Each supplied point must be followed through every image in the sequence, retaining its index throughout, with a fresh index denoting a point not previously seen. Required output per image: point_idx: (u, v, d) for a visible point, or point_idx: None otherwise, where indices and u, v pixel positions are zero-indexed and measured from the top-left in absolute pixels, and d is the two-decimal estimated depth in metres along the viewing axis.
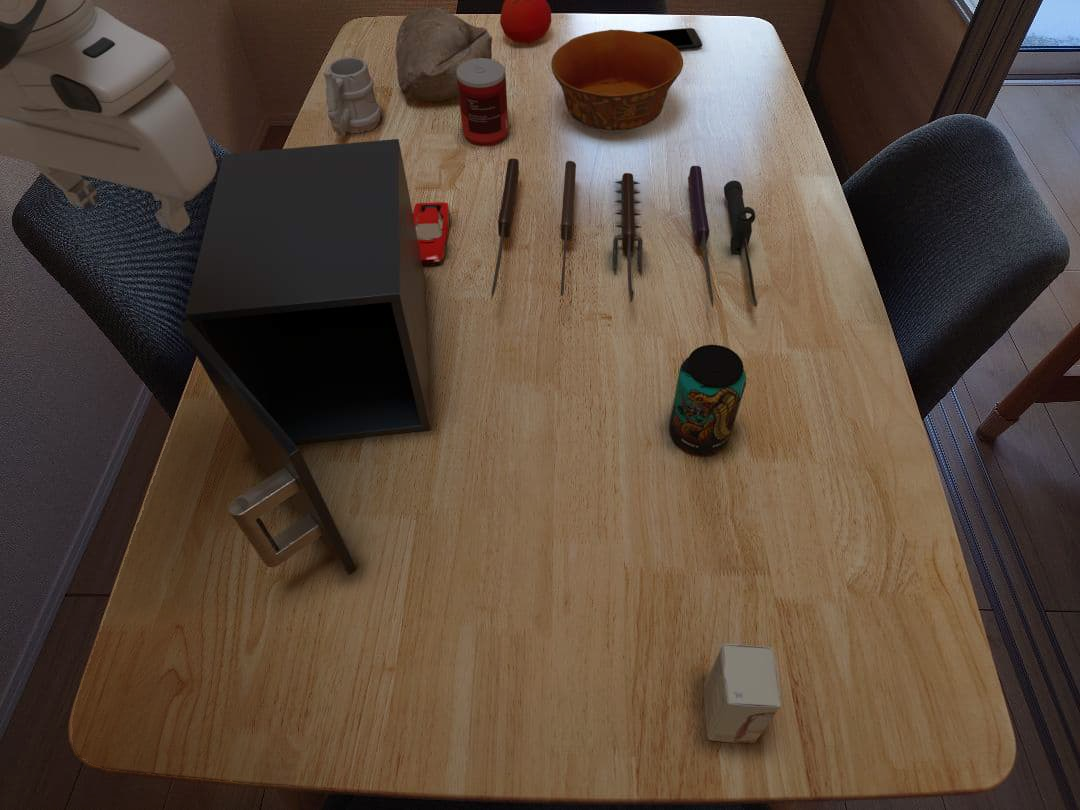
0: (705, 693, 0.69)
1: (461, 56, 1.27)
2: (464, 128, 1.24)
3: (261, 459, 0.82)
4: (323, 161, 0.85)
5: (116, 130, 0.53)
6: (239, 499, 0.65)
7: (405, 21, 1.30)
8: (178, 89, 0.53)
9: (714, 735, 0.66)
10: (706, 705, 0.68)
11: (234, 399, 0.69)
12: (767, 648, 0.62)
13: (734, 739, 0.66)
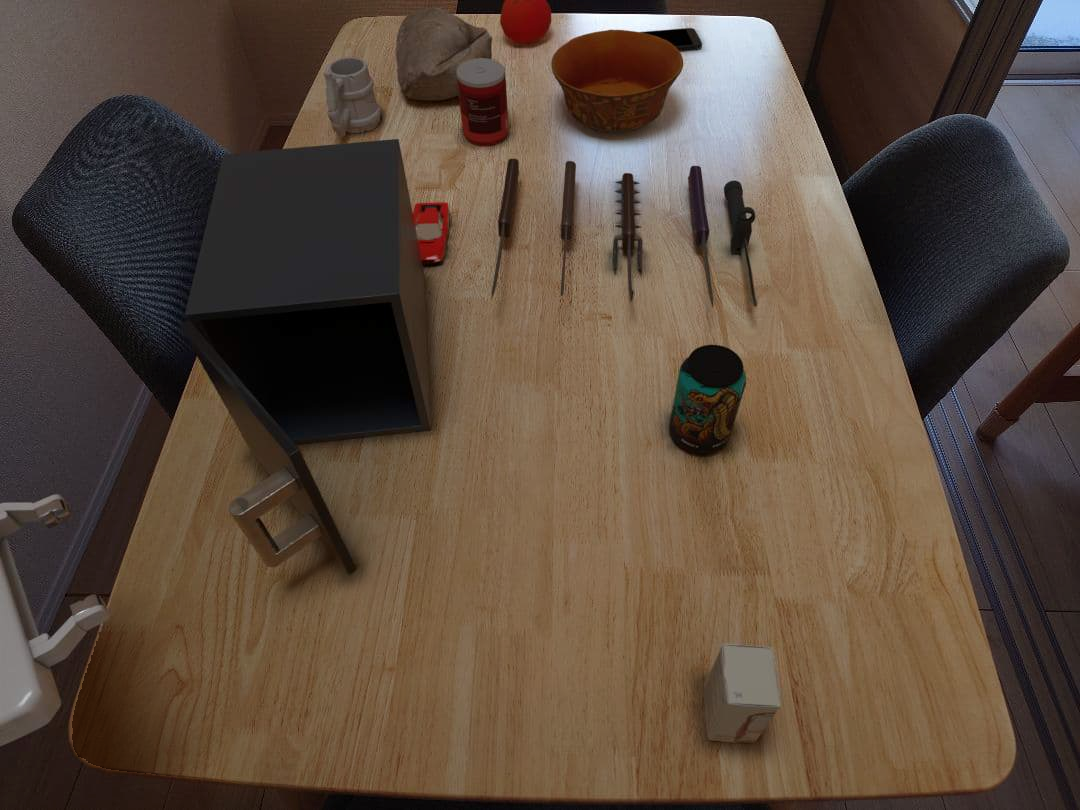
0: (705, 693, 0.69)
1: (461, 56, 1.27)
2: (464, 128, 1.24)
3: (261, 459, 0.82)
4: (323, 161, 0.85)
5: None
6: (239, 499, 0.65)
7: (405, 21, 1.30)
8: None
9: (714, 735, 0.66)
10: (706, 705, 0.68)
11: (234, 399, 0.69)
12: (767, 648, 0.62)
13: (734, 739, 0.66)
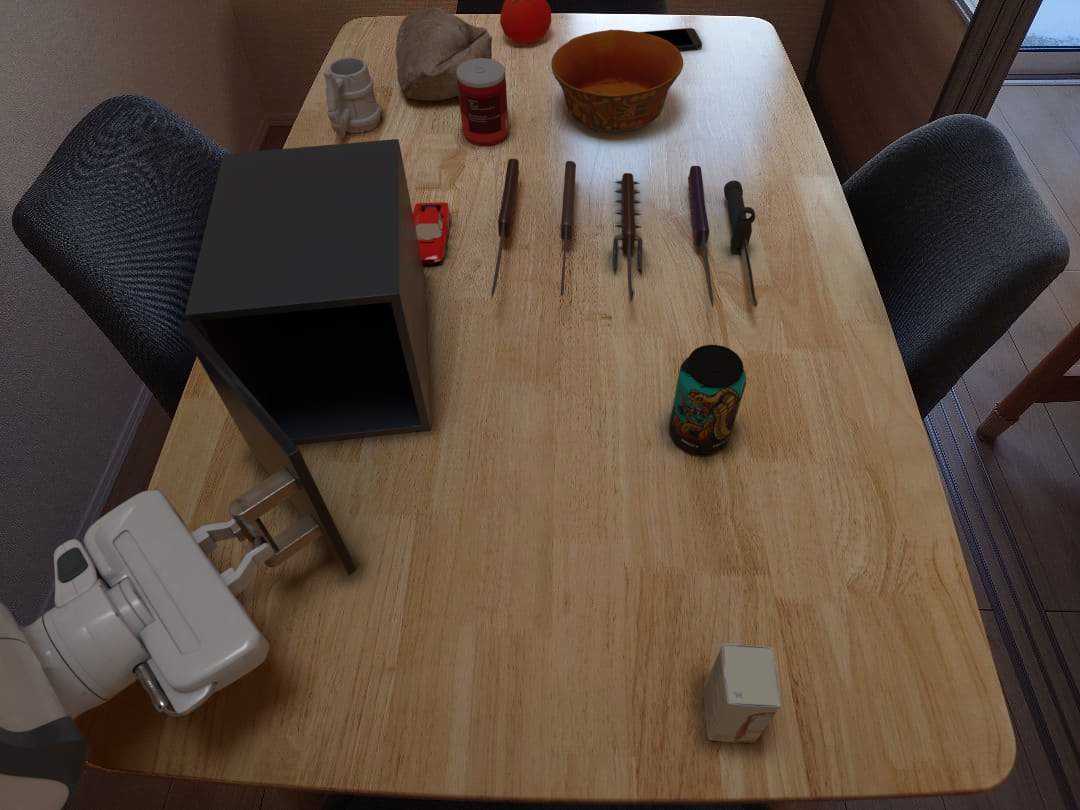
0: (705, 693, 0.69)
1: (461, 56, 1.27)
2: (464, 128, 1.24)
3: (261, 459, 0.82)
4: (323, 161, 0.85)
5: (123, 550, 0.66)
6: (239, 499, 0.65)
7: (405, 21, 1.30)
8: None
9: (714, 735, 0.66)
10: (706, 705, 0.68)
11: (234, 399, 0.69)
12: (767, 648, 0.62)
13: (734, 739, 0.66)
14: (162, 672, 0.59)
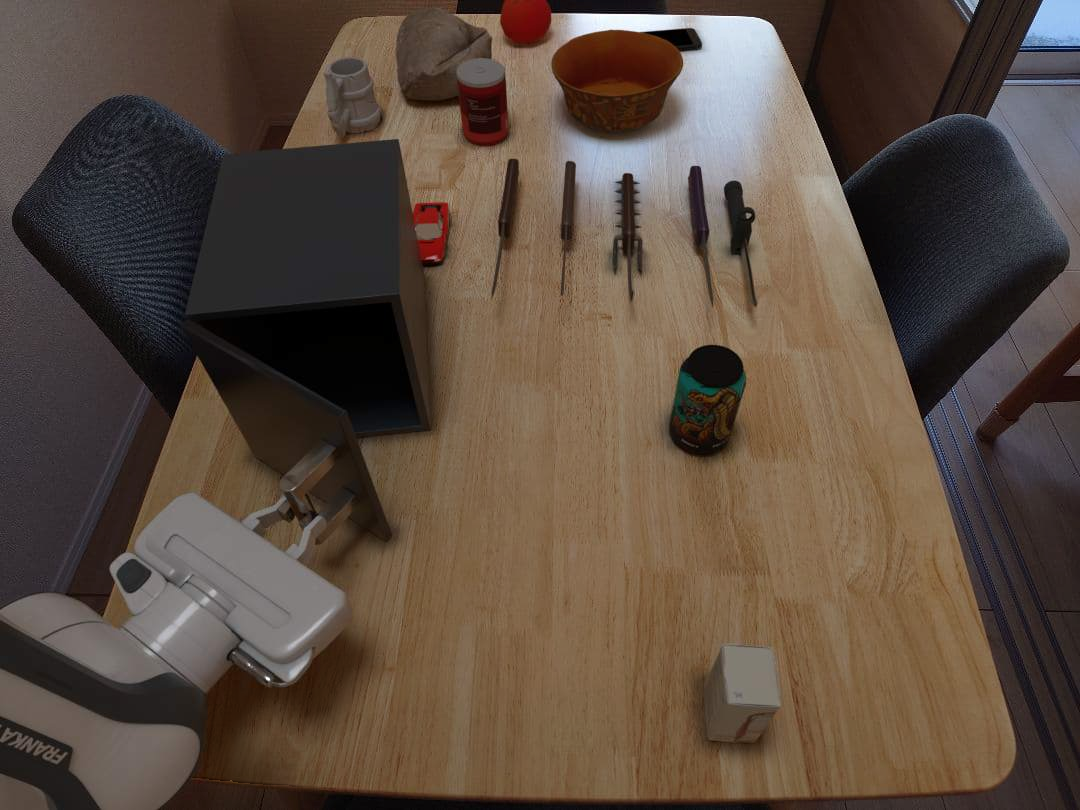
0: (705, 693, 0.69)
1: (461, 56, 1.27)
2: (464, 128, 1.24)
3: (270, 453, 0.82)
4: (323, 161, 0.85)
5: (177, 553, 0.66)
6: (287, 476, 0.66)
7: (405, 21, 1.30)
8: None
9: (714, 735, 0.66)
10: (706, 705, 0.68)
11: (254, 386, 0.70)
12: (767, 648, 0.62)
13: (734, 739, 0.66)
14: (261, 649, 0.60)
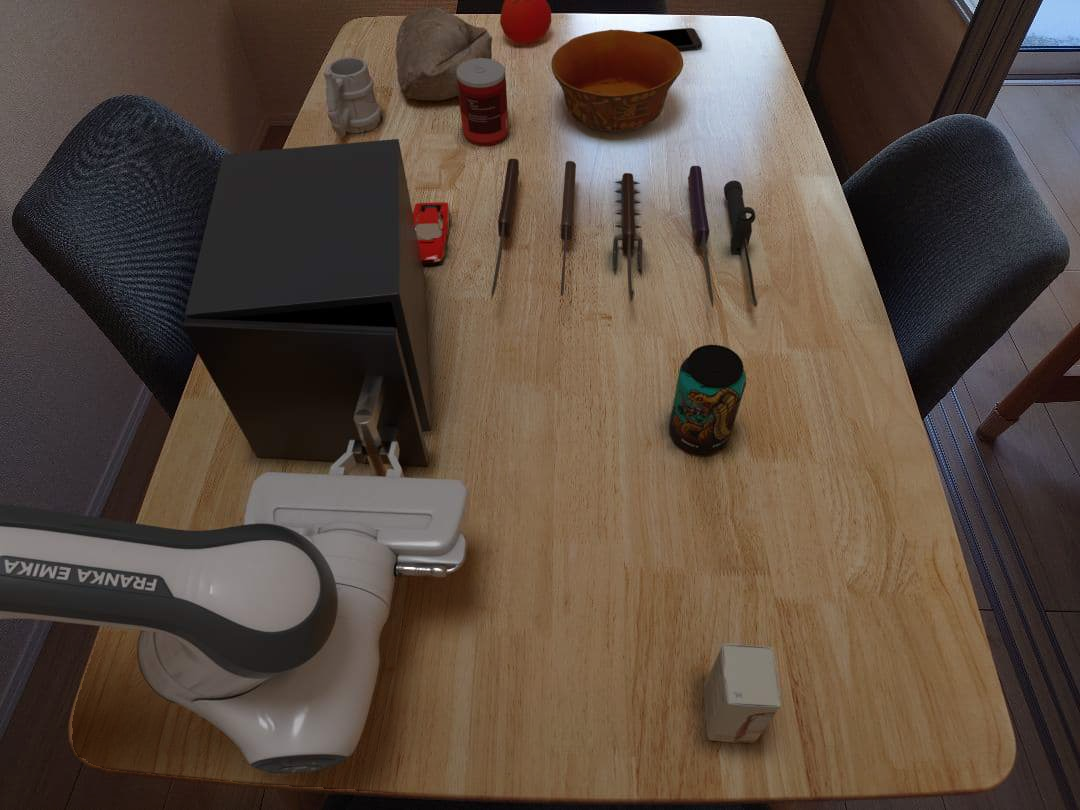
0: (705, 693, 0.69)
1: (461, 56, 1.27)
2: (464, 128, 1.24)
3: (283, 438, 0.83)
4: (323, 161, 0.85)
5: (290, 520, 0.68)
6: (357, 412, 0.71)
7: (405, 21, 1.30)
8: None
9: (714, 735, 0.66)
10: (706, 705, 0.68)
11: (280, 354, 0.72)
12: (767, 648, 0.62)
13: (734, 739, 0.66)
14: (424, 547, 0.66)
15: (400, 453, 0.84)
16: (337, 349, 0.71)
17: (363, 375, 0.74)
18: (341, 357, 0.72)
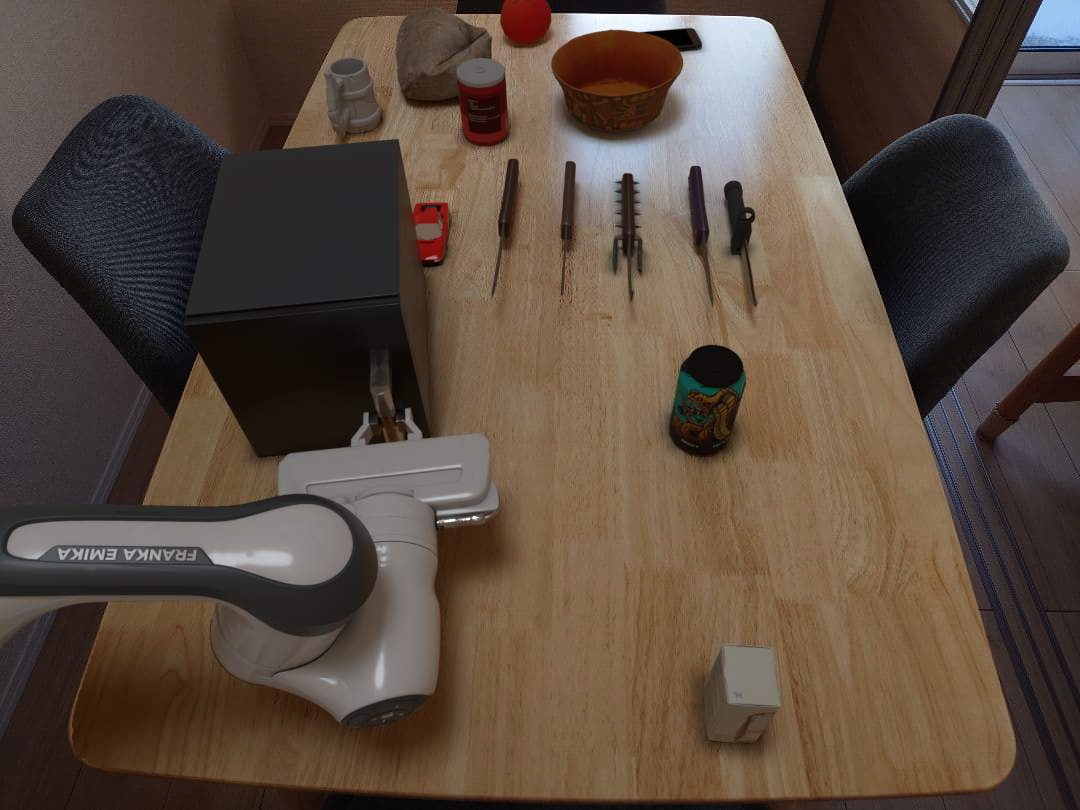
0: (705, 693, 0.69)
1: (461, 56, 1.27)
2: (464, 128, 1.24)
3: (285, 431, 0.84)
4: (323, 161, 0.85)
5: (324, 494, 0.69)
6: (373, 385, 0.73)
7: (405, 21, 1.30)
8: None
9: (714, 735, 0.66)
10: (706, 705, 0.68)
11: (285, 341, 0.73)
12: (767, 648, 0.62)
13: (734, 739, 0.66)
14: (461, 498, 0.69)
15: None
16: (342, 327, 0.73)
17: (368, 351, 0.76)
18: (346, 335, 0.73)
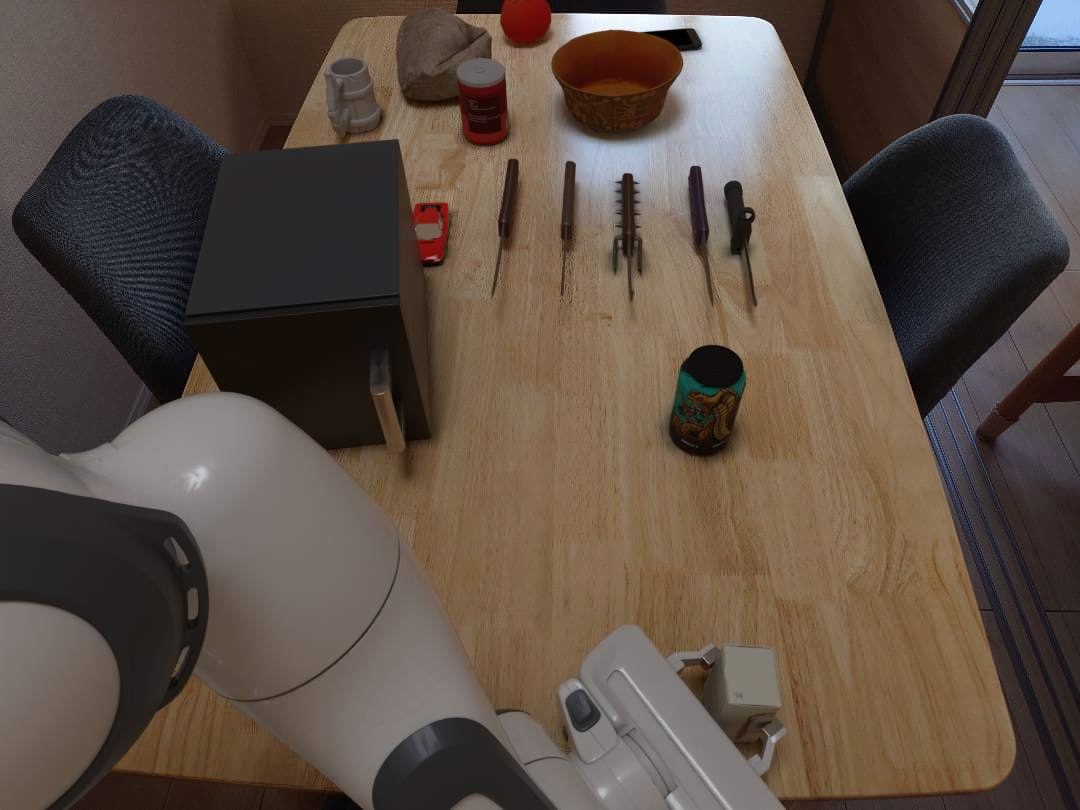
0: (705, 693, 0.69)
1: (461, 56, 1.27)
2: (464, 128, 1.24)
3: None
4: (323, 161, 0.85)
5: (618, 694, 0.63)
6: (373, 385, 0.73)
7: (405, 21, 1.30)
8: None
9: None
10: (706, 705, 0.68)
11: (285, 341, 0.73)
12: (767, 648, 0.62)
13: (735, 739, 0.66)
14: None
15: (404, 428, 0.86)
16: (342, 327, 0.73)
17: (368, 351, 0.76)
18: (346, 335, 0.73)
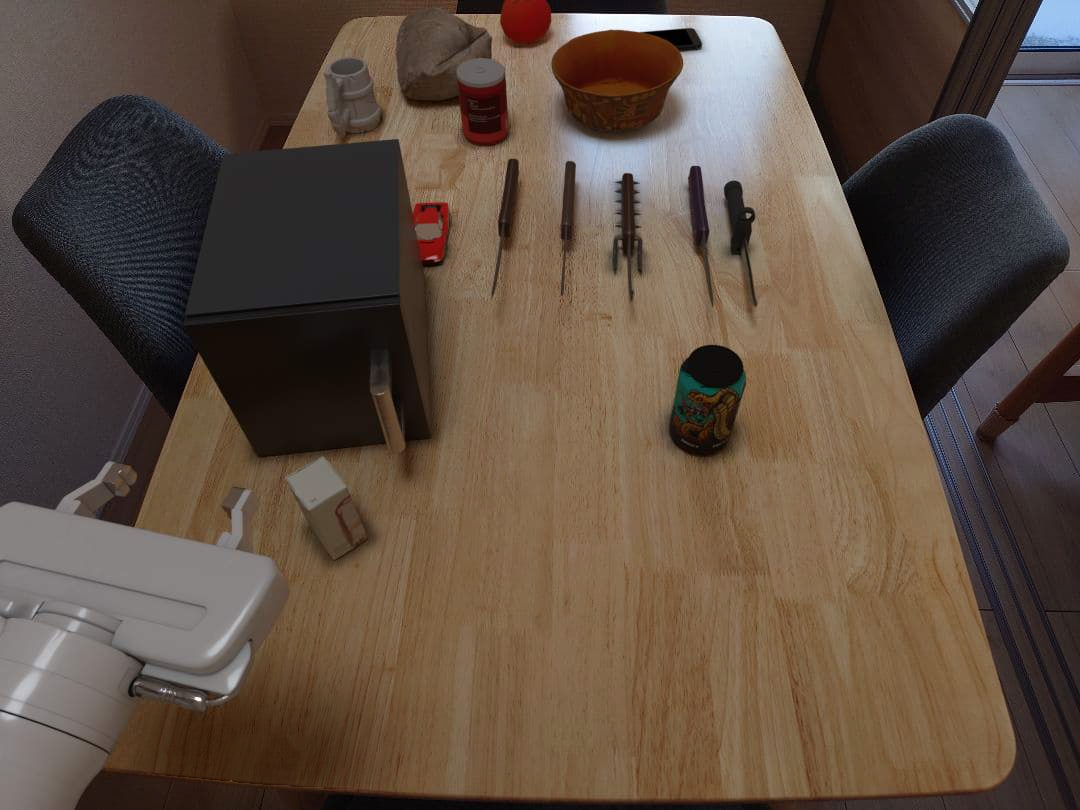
0: (313, 531, 0.80)
1: (461, 56, 1.27)
2: (464, 128, 1.24)
3: (285, 431, 0.84)
4: (323, 161, 0.85)
5: (12, 583, 0.46)
6: (373, 385, 0.73)
7: (405, 21, 1.30)
8: None
9: (333, 551, 0.78)
10: (318, 538, 0.79)
11: (285, 341, 0.73)
12: (319, 459, 0.75)
13: (351, 544, 0.79)
14: (177, 662, 0.43)
15: (404, 428, 0.86)
16: (342, 327, 0.73)
17: (368, 351, 0.76)
18: (346, 335, 0.73)
